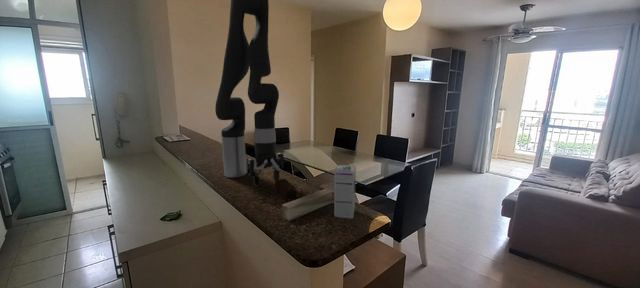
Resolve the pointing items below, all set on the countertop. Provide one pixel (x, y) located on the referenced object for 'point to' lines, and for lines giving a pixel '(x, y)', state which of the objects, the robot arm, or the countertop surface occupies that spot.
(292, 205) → the fence board
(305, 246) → the countertop surface
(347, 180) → the syrup box
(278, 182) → the brick
